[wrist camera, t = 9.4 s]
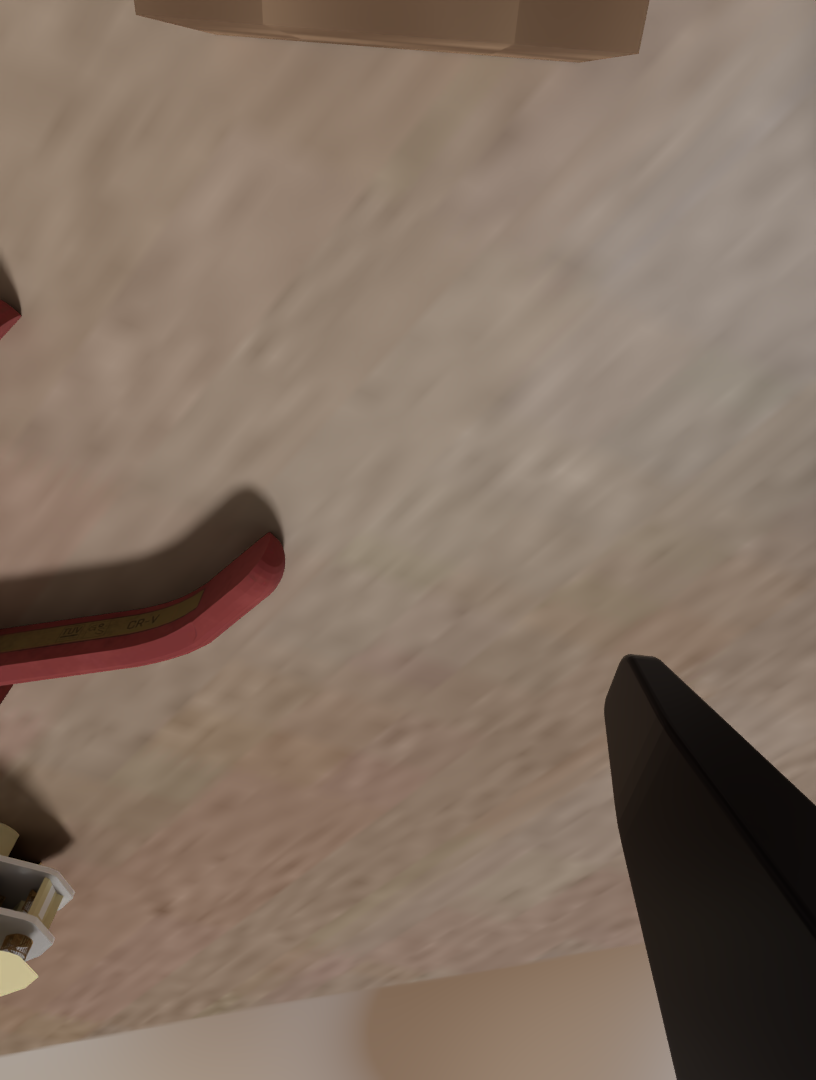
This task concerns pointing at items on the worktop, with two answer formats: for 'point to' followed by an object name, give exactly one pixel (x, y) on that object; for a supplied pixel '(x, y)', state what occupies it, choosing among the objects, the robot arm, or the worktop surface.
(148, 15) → the rectangular wooden block
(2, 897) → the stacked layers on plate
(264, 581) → the pliers
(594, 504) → the worktop surface
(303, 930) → the worktop surface
